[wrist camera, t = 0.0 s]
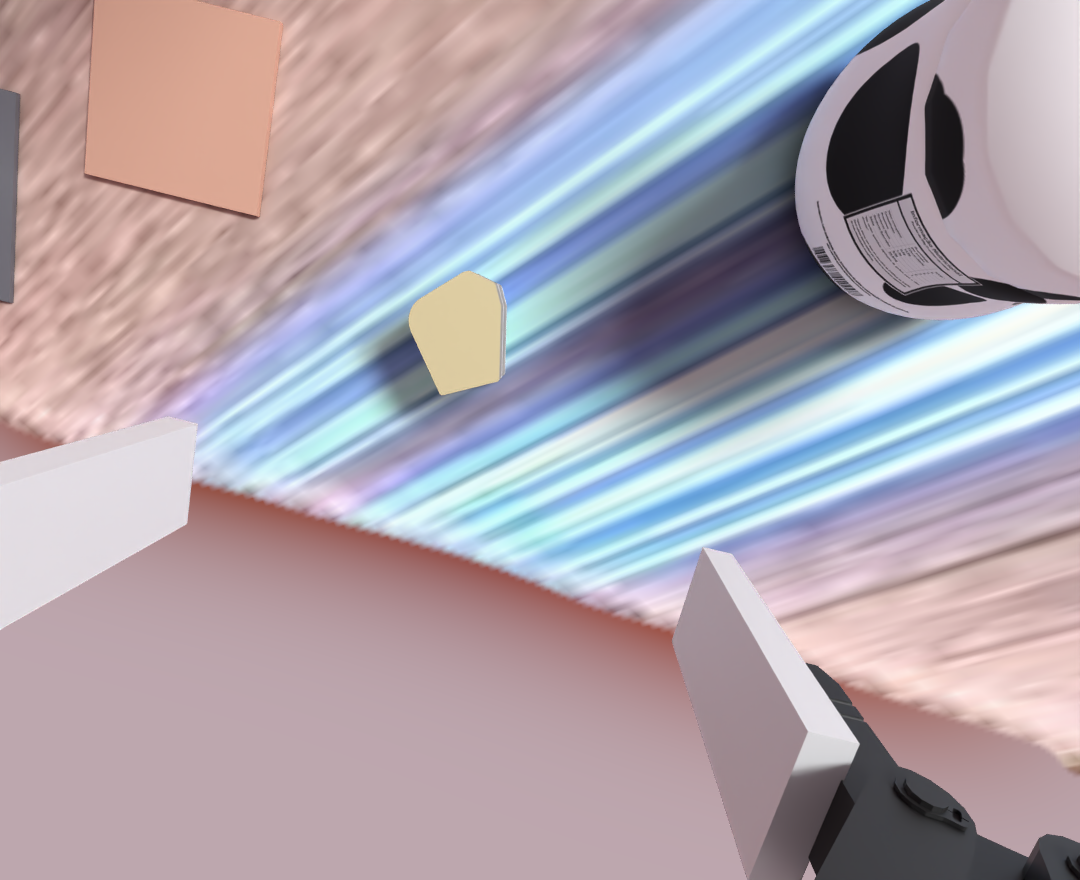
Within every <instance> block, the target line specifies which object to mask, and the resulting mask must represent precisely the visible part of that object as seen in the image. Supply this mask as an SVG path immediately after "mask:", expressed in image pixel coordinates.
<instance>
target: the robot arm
mask: <svg viewBox="0 0 1080 880" xmlns="http://www.w3.org/2000/svg"><path fill="white" fill-rule="evenodd" d="M197 426H198V424H197V423H193V422H188V421H184V420H180V419H176V418H172V417H164V418H161V419H157V420H153V421H150V422H146V423H142V424H139V425H135V426H131V427H128V428H124V429H120V430H117V431H113V432H109V433H106V434H102V435H98V436H94V437H91V438H87V439H83V440H80V441H76V442H72V443H69V444H65V445H61V446H58V447H54V448H50V449H47V450H43V451H40V452H36V453H32V454H28V455H24V456H21V457H17V458H14V459H10V460H6V461H2V462H0V630H1V629H3V628H4V627H6V626H8V625H10V624H11V623H13V622H15V621H17V620H19V619H20V618H22V617H24V616H26V615H27V614H29V613H31V612H33V611H34V610H36V609H38V608H40V607H41V606H43V605H45V604H47V603H49V602H50V601H52V600H54V599H56V598H57V597H59V596H61V595H62V594H64V593H66V592H68V591H70V590H71V589H73V588H75V587H77V586H78V585H80V584H81V583H84V582H85V581H87V580H89V579H91V578H93V577H94V576H96V575H98V574H100V573H101V572H103V571H105V570H107V569H108V568H110V567H112V566H114V565H115V564H117V563H119V562H121V561H122V560H124V559H126V558H128V557H130V556H131V555H133V554H135V553H137V552H138V551H140V550H142V549H144V548H145V547H147V546H149V545H151V544H152V543H154V542H156V541H157V540H159V539H161V538H163V537H165V536H166V535H168V534H170V533H172V532H174V531H175V530H177V529H179V528H181V527H182V526H184V525H186V524H187V519H188V509H189V500H190V491H191V482H192V473H193V463H194V454H195V445H196V436H197ZM672 643H673V646H674V650H675V653H676V656H677V659H678V662H679V665H680V669H681V672H682V675H683V678H684V681H685V684H686V688H687V691H688V694H689V697H690V700H691V703H692V707H693V709H694V713H695V716H696V719H697V722H698V726H699V729H700V732H701V735H702V738H703V741H704V745H705V747H706V751H707V754H708V757H709V760H710V763H711V767H712V770H713V773H714V776H715V779H716V782H717V785H718V789H719V792H720V795H721V798H722V801H723V805H724V808H725V811H726V814H727V817H728V820H729V824H730V827H731V830H732V833H733V836H734V839H735V842H736V845H737V849H738V852H739V855H740V858H741V861H742V864H743V868H744V871H745V874H746V877H747V880H802V877H803V875H804V873H805V870H806V868H807V866H808V863H809V861H810V862H811V865H812V867H813V869H814V871H815V874H816V878H815V880H1080V843H1078V842H1075V841H1073V840H1070V839H1068V838H1065V837H1063V836H1056V835H1049V834H1046V835H1045V836H1043V837H1041V838H1039V839H1038V841H1037V843H1036V845H1035V847H1034V849H1033V850H1032V852H1031V854H1030V856H1029V858H1028V857H1026V856H1023V855H1021V854H1019V853H1017V852H1015V851H1012V850H1010V849H1008V848H1006V847H1003V846H1002V845H999V844H997V843H995V842H993V841H991V840H988V839H986V838H984V837H982V836H980V835H978V834H977V832H976V827H975V823H974V822H973V820H972V819H971V817H970V816H969V814H968V813H967V811H966V810H965V809H964V807H962V806H961V805H960V804H959V803H958V802H957V801H956V800H955V799H954V798H953V797H952V796H951V795H950V794H949V793H948V792H946V791H945V790H943V789H942V788H940V787H939V786H938V785H936V784H935V783H933V782H932V781H931V780H929V779H927V778H925V777H923V776H921V775H919V774H917V773H915V772H913V771H911V770H908V769H905V768H902V767H899V766H898V765H897V764H896V763H895V761H894V760H893V758H892V757H891V756H890V754H889V753H888V751H887V750H886V749H885V747H884V746H883V745H882V743H881V742H880V740H879V739H878V738H877V736H876V735H875V734H874V732H873V731H872V729H871V728H870V727H869V725H868V724H867V723H866V722H864V721H863V719H864V718H863V717H862V716H861V714H860V713H859V711H858V710H857V709H856V707H854V706H852V702H851V700H850V699H849V698H848V696H847V695H846V694H845V692H844V691H843V689H842V688H841V687H840V685H839V684H838V683H837V682H836V681H834V680H833V679H832V678H831V677H830V676H829V675H827V674H826V673H825V672H824V671H823V670H822V669H820V668H819V667H818V666H816V665H812V664H808V663H805V662H804V660H803V659H802V657H801V656H800V654H799V653H798V652H797V650H796V649H795V647H794V646H793V644H792V643H791V641H790V640H789V638H788V637H787V635H786V634H785V632H784V631H783V629H782V628H781V626H780V625H779V623H778V622H777V620H776V619H775V617H774V616H773V614H772V613H771V611H770V610H769V608H768V607H767V605H766V604H765V603H764V601H763V600H762V598H761V597H760V595H759V594H758V592H757V591H756V589H755V588H754V586H753V585H752V583H751V582H750V580H749V579H748V577H747V576H746V574H745V573H744V571H743V570H742V568H741V567H740V565H739V564H738V562H737V561H736V559H735V558H734V556H733V555H732V554H729V553H725V552H721V551H717V550H713V549H709V548H705V547H703V548H702V551H701V554H700V557H699V560H698V563H697V566H696V569H695V572H694V575H693V578H692V581H691V584H690V588H689V591H688V594H687V597H686V600H685V603H684V606H683V609H682V612H681V615H680V618H679V621H678V624H677V627H676V630H675V633H674V636H673V639H672Z"/></svg>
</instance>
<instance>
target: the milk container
mask: <svg viewBox="0 0 1080 880" xmlns="http://www.w3.org/2000/svg"><path fill="white" fill-rule="evenodd" d="M795 202H796V211H797V217H798V222H799V225H800V229H801V233H802V235H803V238H804V241H805V243H806V245H807V247H808V249H809V252H810V254H811V255H812V257H813V259H814V260H815V262H816V263H817V265H818V266H819V267H820V269H821V270H822V271H823V273H824V274H825V275H826V276H827V277H828V278H829V279H830V280H831V281H832V282H833V283H834V284H835V285H836V286H837V287H839V288H840V289H841V290H843V291H844V292H845V293H847V294H848V295H850V296H852V297H853V298H855V299H857V300H859V301H861V302H863V303H865V304H867V305H869V306H871V307H874V308H876V309H879V310H882V311H885V312H888V313H892V314H895V315H899V316H904V317H910V318H916V319H928V320H954V319H963V318H972V317H977V316H983V315H987V314H991V313H995V312H998V311H1002V310H1005V309H1008V308H1011V307H1014V306H1017V305H1019V304H1022V303H1036V304H1077V303H1080V0H930V1H928V2H926V3H924V4H922V5H920V6H918V7H917V8H915V9H913V10H912V11H910V12H909V13H907V14H906V15H904V16H902V17H901V18H899V19H898V20H896V21H895V22H894V23H892V24H891V25H890V26H888V27H887V28H886V29H884V30H883V31H882V32H881V33H879V34H878V35H877V36H876V37H875V38H874V39H873V40H871V41H870V42H869V43H868V44H867V45H866V46H865V47H864V48H863V49H862V50H861V51H860V52H859V53H858V54H857V55H856V56H855V57H854V58H853V59H852V60H851V62H850V63H849V64H848V65H847V66H846V68H845V69H844V70H843V71H842V72H841V74H840V75H839V76H838V77H837V79H836V80H835V82H834V83H833V84H832V86H831V87H830V89H829V90H828V92H827V93H826V95H825V97H824V98H823V100H822V102H821V103H820V105H819V107H818V108H817V110H816V112H815V114H814V116H813V118H812V120H811V122H810V124H809V127H808V129H807V132H806V134H805V137H804V140H803V143H802V146H801V150H800V154H799V158H798V163H797V169H796V179H795Z"/></svg>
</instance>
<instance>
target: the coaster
mask: <svg viewBox="0 0 1080 880" xmlns="http://www.w3.org/2000/svg"><path fill="white" fill-rule="evenodd" d="M282 31H283V24H282V23H281V22H280V21H276V20H272V19H268V18H264V17H260V16H256V15H252V14H248V13H244V12H240V11H236V10H232V9H228V8H224V7H220V6H216V5H212V4H208V3H204V2H200V1H196V0H94V17H93V35H92V52H91V70H90V87H89V105H88V122H87V139H86V157H85V174H88V175H92V176H96V177H100V178H104V179H108V180H112V181H116V182H120V183H124V184H129V185H133V186H137V187H141V188H145V189H149V190H153V191H157V192H161V193H165V194H169V195H173V196H177V197H181V198H185V199H189V200H193V201H197V202H201V203H205V204H209V205H213V206H217V207H221V208H225V209H229V210H234V211H238V212H242V213H246V214H250V215H254V216H258V217H260V209H261V201H262V193H263V185H264V177H265V169H266V161H267V153H268V144H269V136H270V128H271V120H272V112H273V104H274V96H275V88H276V79H277V71H278V63H279V55H280V47H281V39H282Z"/></svg>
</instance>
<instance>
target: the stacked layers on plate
mask: <svg viewBox="0 0 1080 880" xmlns="http://www.w3.org/2000/svg"><path fill="white" fill-rule="evenodd" d="M506 321H507V304H506V301H505V297H504V293H503V289H502V286H501V285H499V284H497V283H495V282H493V281H491V280H489V279H487V278H485V277H483V276H481V275H479V274H476V273H474V272H471V271H466V272H463V273H461V274H459V275H458V276H456V277H454V278H453V279H451V280H450V281H448V282H446V283H445V284H443V285H441V286H440V287H438V288H436V289H435V290H433V291H432V292H430V293H428V294H427V295H425V296H423V297H422V298H420V299H419V300H418V301H416V302H415V304H414V305H413V307H412V308H411V311H410V314H409V327H410V330H411V333H412V335H413V337H414V339H415V341H416V343H417V346H418V348H419V350H420V352H421V354H422V356H423V359H424V361H425V363H426V365H427V367H428V370H429V372H430V374H431V376H432V378H433V380H434V383H435V385H436V387H437V389H438V391H439V393H440V395H446V394H450V393H454V392H458V391H462V390H466V389H470V388H474V387H478V386H481V385H485V384H489V383H493V382H497V381H499V379H501V377H502V376H503V375H504V374H505V357H506Z"/></svg>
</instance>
